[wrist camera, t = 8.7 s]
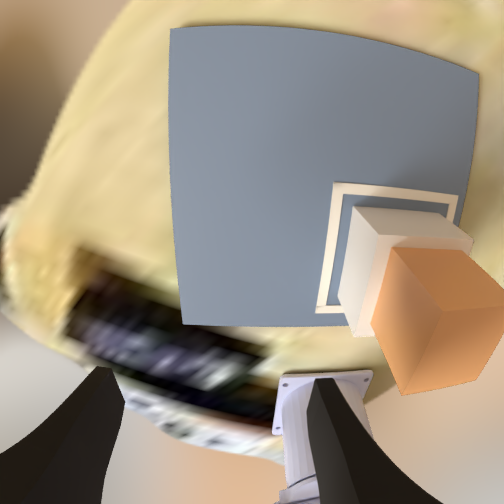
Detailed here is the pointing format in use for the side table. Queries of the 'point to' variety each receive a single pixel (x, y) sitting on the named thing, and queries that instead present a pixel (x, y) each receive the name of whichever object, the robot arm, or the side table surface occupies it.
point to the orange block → (436, 318)
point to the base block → (386, 254)
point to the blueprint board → (301, 161)
